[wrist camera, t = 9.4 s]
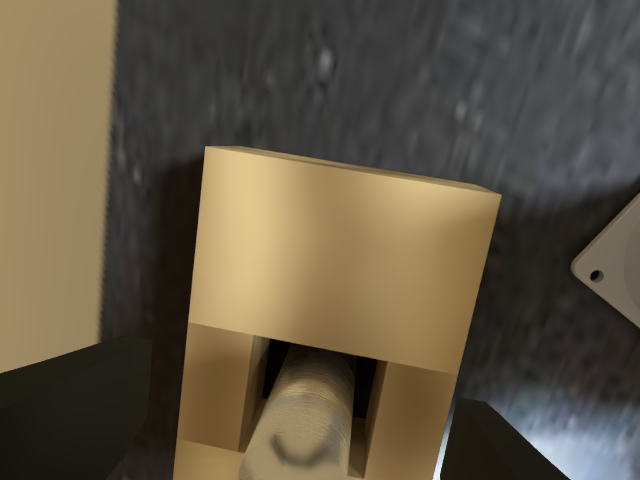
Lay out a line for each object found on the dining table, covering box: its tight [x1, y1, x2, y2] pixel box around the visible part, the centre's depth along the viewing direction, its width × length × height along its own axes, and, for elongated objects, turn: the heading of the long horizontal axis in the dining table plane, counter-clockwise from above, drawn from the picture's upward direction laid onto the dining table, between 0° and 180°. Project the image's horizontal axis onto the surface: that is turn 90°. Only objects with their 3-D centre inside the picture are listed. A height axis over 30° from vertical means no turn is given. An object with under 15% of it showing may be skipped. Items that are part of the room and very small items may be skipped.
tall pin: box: [238, 343, 357, 480], centre depth 17 cm, size 3×3×8 cm
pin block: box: [173, 146, 501, 480], centre depth 19 cm, size 10×14×4 cm
